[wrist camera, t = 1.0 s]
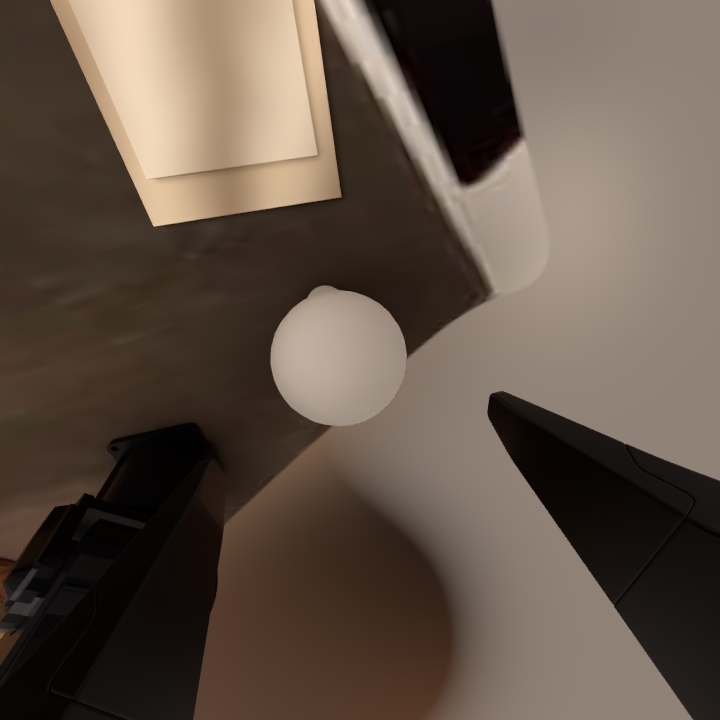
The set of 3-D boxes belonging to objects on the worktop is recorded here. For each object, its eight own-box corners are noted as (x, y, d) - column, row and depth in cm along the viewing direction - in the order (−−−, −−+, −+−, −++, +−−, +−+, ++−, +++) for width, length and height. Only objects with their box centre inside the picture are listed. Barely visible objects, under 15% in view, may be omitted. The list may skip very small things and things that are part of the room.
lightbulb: (258, 286, 19) (226, 387, 10) (338, 233, 18) (384, 289, 9) (312, 354, 22) (326, 477, 13) (382, 311, 22) (449, 409, 12)
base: (160, 223, 16) (145, 229, 15) (-11, -162, 10) (-71, -230, 8) (339, 196, 17) (343, 198, 16) (286, -172, 11) (285, -235, 9)
